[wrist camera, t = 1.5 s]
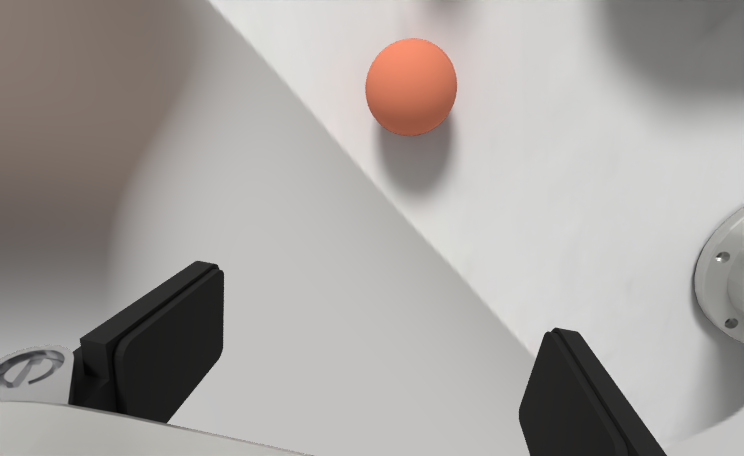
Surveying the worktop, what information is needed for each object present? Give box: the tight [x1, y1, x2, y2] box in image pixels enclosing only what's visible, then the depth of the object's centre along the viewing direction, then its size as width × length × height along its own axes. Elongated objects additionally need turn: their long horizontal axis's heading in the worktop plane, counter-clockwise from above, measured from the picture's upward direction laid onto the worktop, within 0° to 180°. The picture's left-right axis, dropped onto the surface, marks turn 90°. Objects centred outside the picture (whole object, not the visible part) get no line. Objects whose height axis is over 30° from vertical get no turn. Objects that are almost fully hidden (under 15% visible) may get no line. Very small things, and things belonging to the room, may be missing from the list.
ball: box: [365, 38, 457, 136], centre depth 24 cm, size 6×6×6 cm
